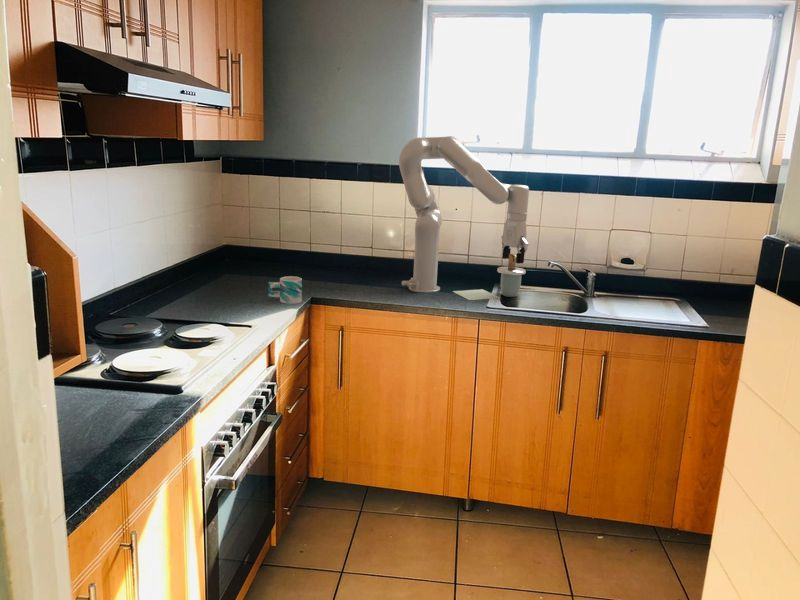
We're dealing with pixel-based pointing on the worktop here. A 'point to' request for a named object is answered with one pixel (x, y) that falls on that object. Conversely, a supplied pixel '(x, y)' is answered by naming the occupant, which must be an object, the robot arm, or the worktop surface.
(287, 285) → the mug
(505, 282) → the cup
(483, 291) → the mat
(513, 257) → the lid
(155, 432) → the worktop surface
